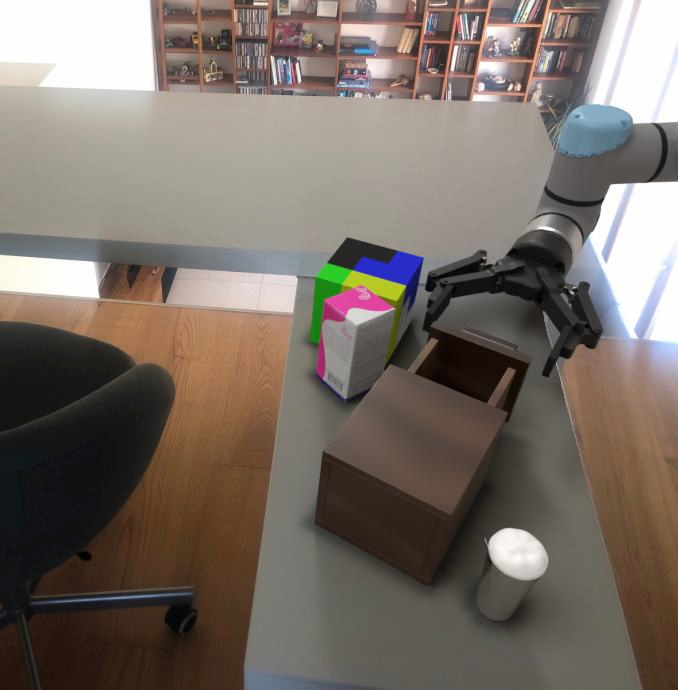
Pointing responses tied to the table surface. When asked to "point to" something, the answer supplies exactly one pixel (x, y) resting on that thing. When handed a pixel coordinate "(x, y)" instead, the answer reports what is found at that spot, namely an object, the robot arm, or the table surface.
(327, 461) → the cabinet
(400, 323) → the puzzle toy
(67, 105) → the table surface
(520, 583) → the milkshake
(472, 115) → the table surface
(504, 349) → the drawer
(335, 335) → the supplement box
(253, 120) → the table surface
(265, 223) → the table surface
